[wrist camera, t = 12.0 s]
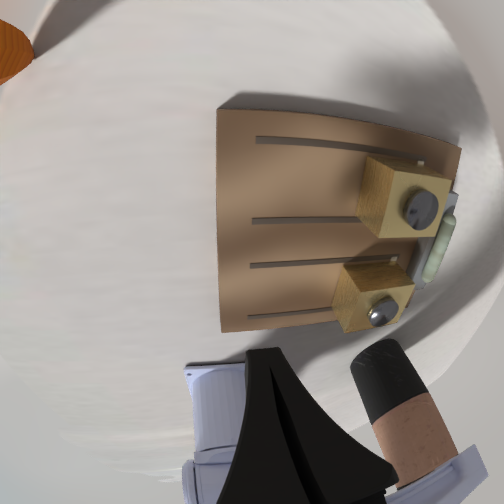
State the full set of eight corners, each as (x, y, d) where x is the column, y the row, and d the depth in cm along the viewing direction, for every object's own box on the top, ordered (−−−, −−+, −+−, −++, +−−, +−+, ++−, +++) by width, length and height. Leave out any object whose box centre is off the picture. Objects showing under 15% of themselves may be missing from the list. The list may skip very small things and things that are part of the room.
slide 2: (380, 298, 22) (400, 327, 19) (330, 306, 21) (347, 339, 18) (395, 261, 20) (419, 289, 17) (342, 265, 19) (364, 298, 16)
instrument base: (399, 297, 25) (418, 324, 22) (220, 319, 22) (224, 357, 19) (449, 143, 16) (483, 158, 13) (216, 108, 14) (219, 113, 10)
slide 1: (410, 215, 18) (440, 241, 15) (354, 214, 17) (383, 243, 14) (423, 164, 15) (458, 184, 12) (366, 155, 15) (401, 174, 12)
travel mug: (408, 342, 31) (472, 462, 14) (368, 376, 34) (418, 492, 17) (381, 332, 28) (455, 481, 11) (336, 371, 31) (389, 511, 14)
